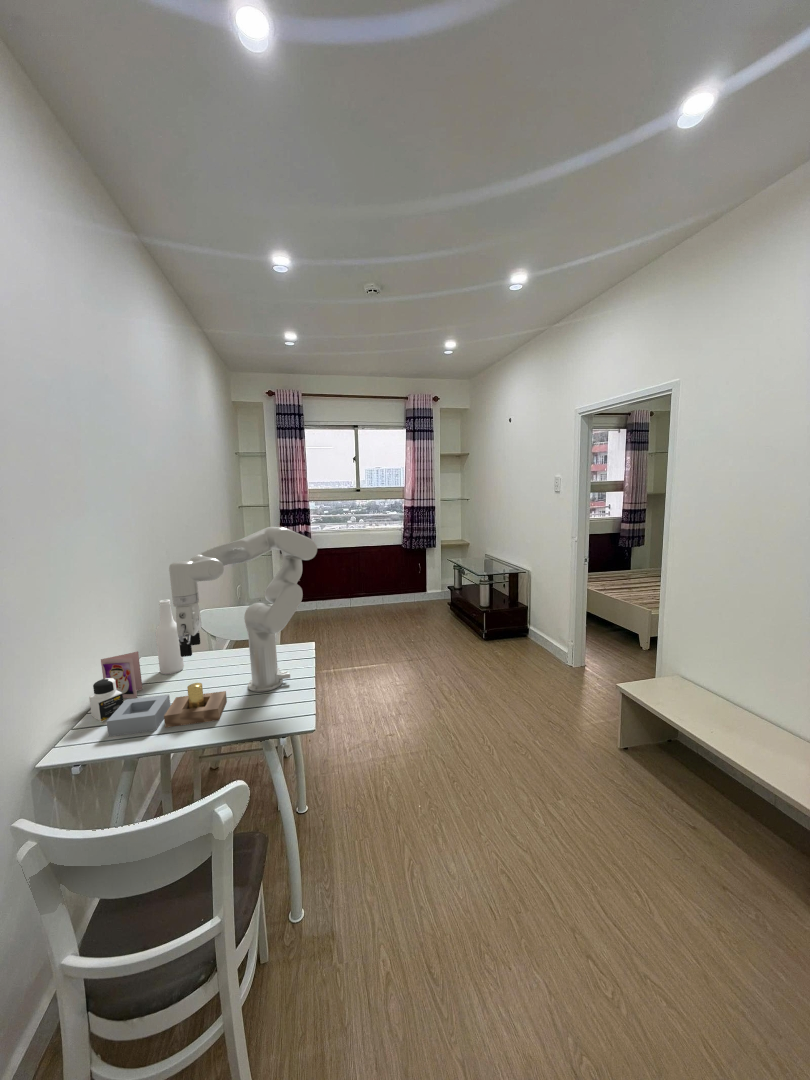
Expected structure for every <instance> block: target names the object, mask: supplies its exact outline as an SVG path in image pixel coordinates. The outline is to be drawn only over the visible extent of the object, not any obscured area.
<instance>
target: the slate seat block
mask: <svg viewBox="0 0 810 1080" xmlns="http://www.w3.org/2000/svg"><path fill="white" fill-rule="evenodd" d="M170 706H171V699H170V694H169V693H168V694H162V695H152V696H146V697H137V698H126V699H125V700H123V703H122V704H121V706H120V707H119V708H118V709H117V710H116V711H115V712H114V713H113V715H112V716H111V717H110V718H109V719H107V720H105V721H106V729H107V736H108V737H114V736H122V735H129V734H137V733H145V732H151V731H153V732H154V731H156V730H158V729H159V726H160V725H161V724H162V722H163V721H164V715H165V713H166V712H167V710H168V709H169V707H170Z"/></svg>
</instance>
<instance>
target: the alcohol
mask: <svg viewBox="0 0 810 1080" xmlns="http://www.w3.org/2000/svg"><path fill="white" fill-rule="evenodd" d="M158 603H159V604H158V605H159V617H160V618H159V624H158V625H157V626H156V628H155V640H156V641H155V642H156V648H157V649H156V650H157V658H158V667H159V672H160V673H161V674H162V675H173V674H177V673H179V672H181V671H183V668H184V667H185V663H184V662H185V661H184V657H181V654H180V645H179V637H178V633H177V624H176V621H175V620H174V617H173V611H172V607H171V606H172V605H171V603H172V602H171V599H167V598H166V599H161V600H159V601H158Z"/></svg>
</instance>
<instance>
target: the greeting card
mask: <svg viewBox="0 0 810 1080" xmlns="http://www.w3.org/2000/svg"><path fill="white" fill-rule="evenodd" d="M100 664H101V671H102V673H101V674H102V679H105V678H113V679H115V682H116V690H118V691H120V692H122V694H123V699H135V698H138V693H137V692H138V691H141V690H143V681H142V672H141V664H140V657H139V651H134V652H130V653H125V654H120V655H119V654H118V655H115V656H110V657H106V658H102V659H100Z"/></svg>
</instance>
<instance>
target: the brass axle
mask: <svg viewBox="0 0 810 1080" xmlns="http://www.w3.org/2000/svg"><path fill="white" fill-rule="evenodd" d="M186 689H187V696H188V699H189V708H190V709H191V708H199V707H204V698H203V694H204V690H203V689H204V688H203V683H202V682H194V683H193V682H192V683H191V684H188V686H187V688H186Z"/></svg>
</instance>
